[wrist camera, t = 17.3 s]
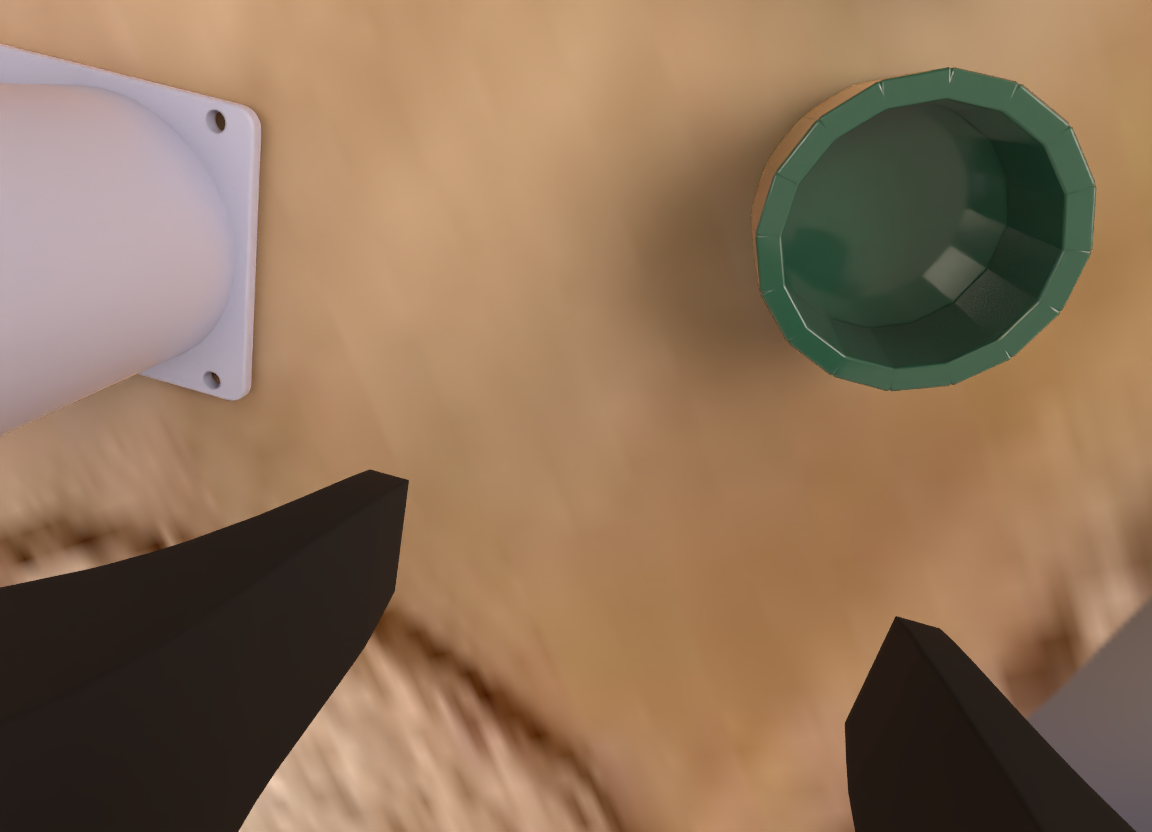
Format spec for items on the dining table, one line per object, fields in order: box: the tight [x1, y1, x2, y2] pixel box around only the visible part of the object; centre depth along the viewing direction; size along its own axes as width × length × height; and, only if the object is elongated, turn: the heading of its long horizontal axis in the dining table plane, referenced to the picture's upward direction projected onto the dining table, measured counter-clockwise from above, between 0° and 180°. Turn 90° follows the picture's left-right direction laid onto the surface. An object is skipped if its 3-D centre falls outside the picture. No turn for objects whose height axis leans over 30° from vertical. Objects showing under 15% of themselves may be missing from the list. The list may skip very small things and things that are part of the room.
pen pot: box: [751, 67, 1096, 391], centre depth 16 cm, size 6×6×4 cm
